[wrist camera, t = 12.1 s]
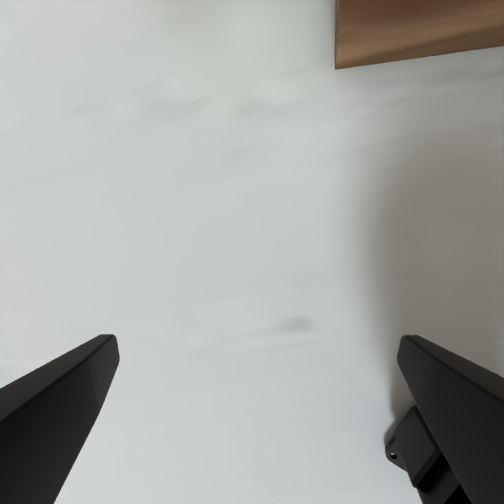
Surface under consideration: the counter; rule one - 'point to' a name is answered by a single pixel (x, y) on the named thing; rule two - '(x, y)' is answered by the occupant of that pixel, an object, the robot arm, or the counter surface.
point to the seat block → (413, 29)
